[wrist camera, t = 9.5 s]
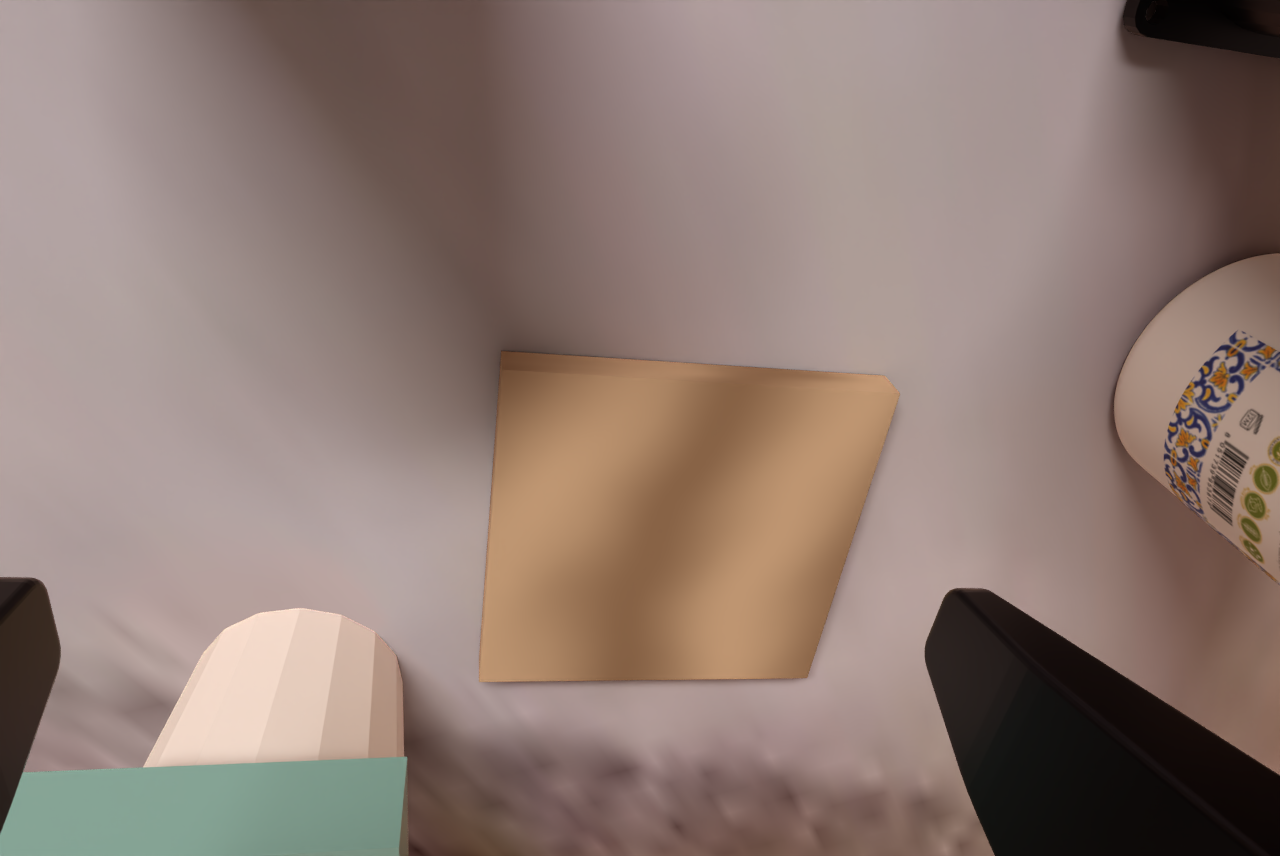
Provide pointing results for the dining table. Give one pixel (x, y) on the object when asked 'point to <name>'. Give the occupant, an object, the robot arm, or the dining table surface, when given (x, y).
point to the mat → (670, 516)
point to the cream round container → (287, 695)
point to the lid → (214, 810)
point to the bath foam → (1213, 404)
